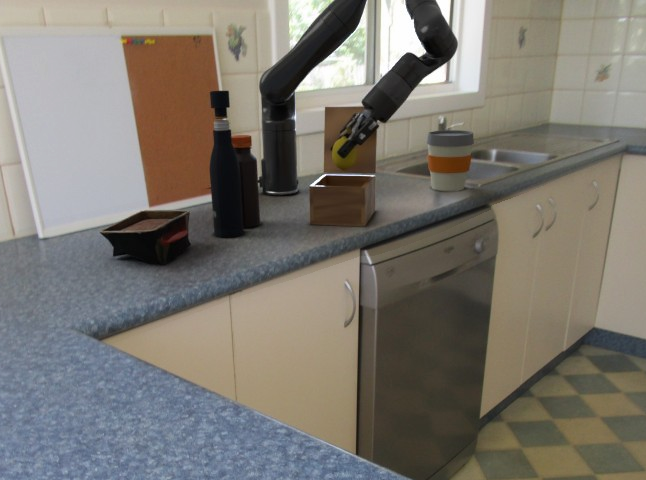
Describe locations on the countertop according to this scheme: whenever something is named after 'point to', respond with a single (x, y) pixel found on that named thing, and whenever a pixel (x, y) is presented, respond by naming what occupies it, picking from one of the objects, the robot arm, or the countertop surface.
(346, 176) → the chest
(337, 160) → the lemon
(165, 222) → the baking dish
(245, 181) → the vinegar
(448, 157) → the reusable coffee cup
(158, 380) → the countertop surface
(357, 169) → the lid
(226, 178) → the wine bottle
